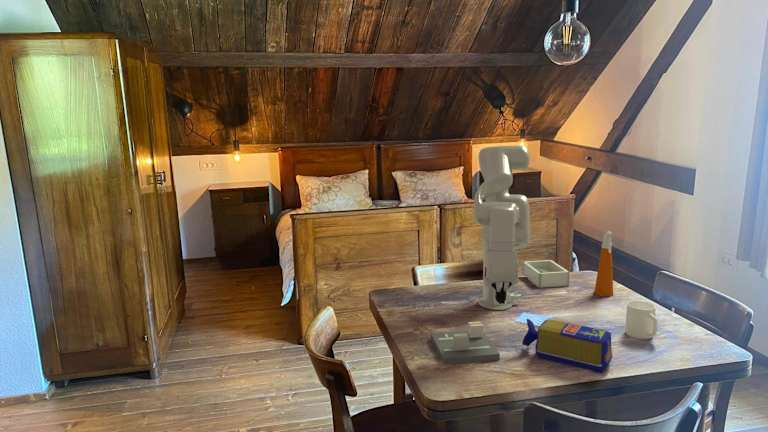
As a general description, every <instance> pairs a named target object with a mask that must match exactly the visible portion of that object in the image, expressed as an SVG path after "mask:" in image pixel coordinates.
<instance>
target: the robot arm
mask: <svg viewBox="0 0 768 432" xmlns="http://www.w3.org/2000/svg"><path fill="white" fill-rule="evenodd" d="M530 162H531V161H530V152H529V149H528V148H527V147H526V146H525V145H496V146H487V147H484V148H481V149H480V150H479V153H478V165H479V170H480V172H481V175H482V177H483V181H484V182H483V183H481V184H480V186H478V188H477V190H476V191H475V195H474V197H473V218H474V221H475V222H476V224H478V225H480V226H483V227H482V228H481V231H480V232H481V235H480V236H481V242H482V251H483V253H482V255H483V257H482V258H483V259H482V260H483V264H482V267H483V270H482V271H483V273H482V297H480V298H479V299H478V305H479V306H480V307H482V308H484V309H487V310H494V311H503V310H504V311H505V310H508V309H510V308H512V307H513V300H517V301H518V300H521V299H522V295H521V293H518V294H516V292H510V287H511V286H515V285H517V284H518V283H519V260H518V259H519V258H518V254H517V253H518V252H517V250H523V249H526V248H528V247H529V246H530V242H531V218H530V217H531V215H530V214H531V213H530V212H531V211H530V203H529V199H528V197H526V195H523V194H510V193H509V189H510V187H512V184H513V181H514V178H513V171H515V170H517V171H520V170H521V171H522V170H523V171H525V170H527V169H528V168H529V165H530ZM484 200H485V201H484Z"/></svg>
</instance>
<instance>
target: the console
mask: <svg viewBox="0 0 768 432" xmlns="http://www.w3.org/2000/svg"><path fill="white" fill-rule="evenodd" d="M464 333H466V334H467V335H468V337H469V350H460V351H455V349H454V347H453V334H464ZM430 339H431V342H432V343H433V346H434V348H435V350H436V352H437V354H438V356H439V358H440V360H441V362H442V364H443V365H454V364H455V365H456V364H467V363H481V362H490V361H491V362H493V361H494V362H495V361H500V360H501V358H500V357H501V354H500V352H499V351H498V349H497V348H496V347H495V345H494V344H493V343H492V341H491V340H490V338H489V337H488V336H487V335H486V334H485V332H484V331H483V337H478V338H471V337H470V336H469V334H468V329H467V330H455V331H443V332H431V333H430Z"/></svg>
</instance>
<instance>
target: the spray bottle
mask: <svg viewBox="0 0 768 432" xmlns="http://www.w3.org/2000/svg"><path fill="white" fill-rule="evenodd" d="M612 235H613V232H612V231H606V232H604V234H603V238H602V242H601V249H600V255H599V261H598V265H597V266H598V268H597V273H596V280H595V285H594V286H595V287H594V294H595V295H597V296H600V297H610V296H611V297H612V296H613V295H614V282H613V281H614V279H613V278H614V277H613V275H614V274H613V254H612V251H613V249H612V245H613V244H612Z"/></svg>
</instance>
